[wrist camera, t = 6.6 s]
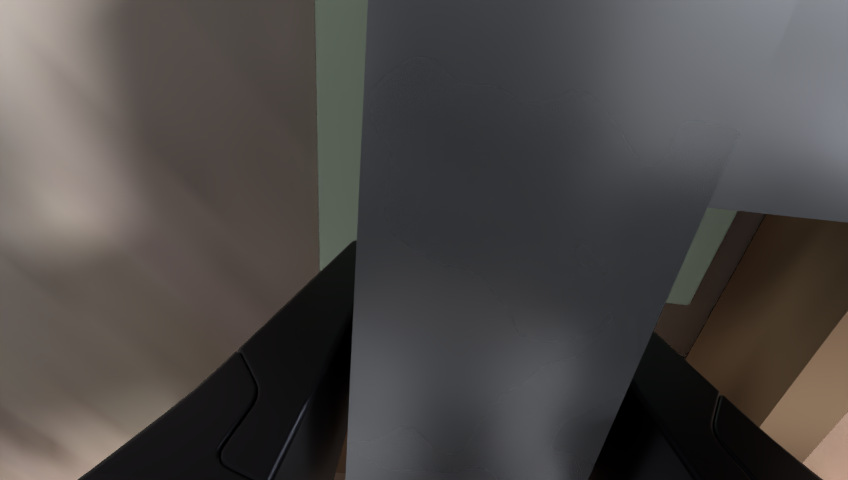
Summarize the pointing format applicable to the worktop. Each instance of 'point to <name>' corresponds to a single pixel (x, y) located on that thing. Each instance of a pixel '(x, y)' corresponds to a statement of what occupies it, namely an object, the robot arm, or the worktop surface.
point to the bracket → (560, 207)
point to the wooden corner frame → (779, 333)
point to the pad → (342, 131)
